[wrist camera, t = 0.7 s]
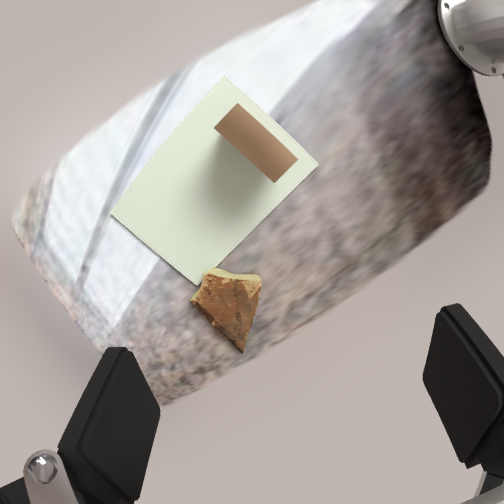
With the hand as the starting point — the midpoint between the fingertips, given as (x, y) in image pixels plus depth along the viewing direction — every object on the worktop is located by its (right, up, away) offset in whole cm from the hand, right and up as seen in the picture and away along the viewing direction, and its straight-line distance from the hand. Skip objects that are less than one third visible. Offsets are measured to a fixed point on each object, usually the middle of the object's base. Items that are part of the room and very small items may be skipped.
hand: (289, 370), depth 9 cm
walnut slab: (-1, +15, +21) cm, 26 cm away
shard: (-3, -2, +29) cm, 30 cm away
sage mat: (-6, +10, +24) cm, 27 cm away
